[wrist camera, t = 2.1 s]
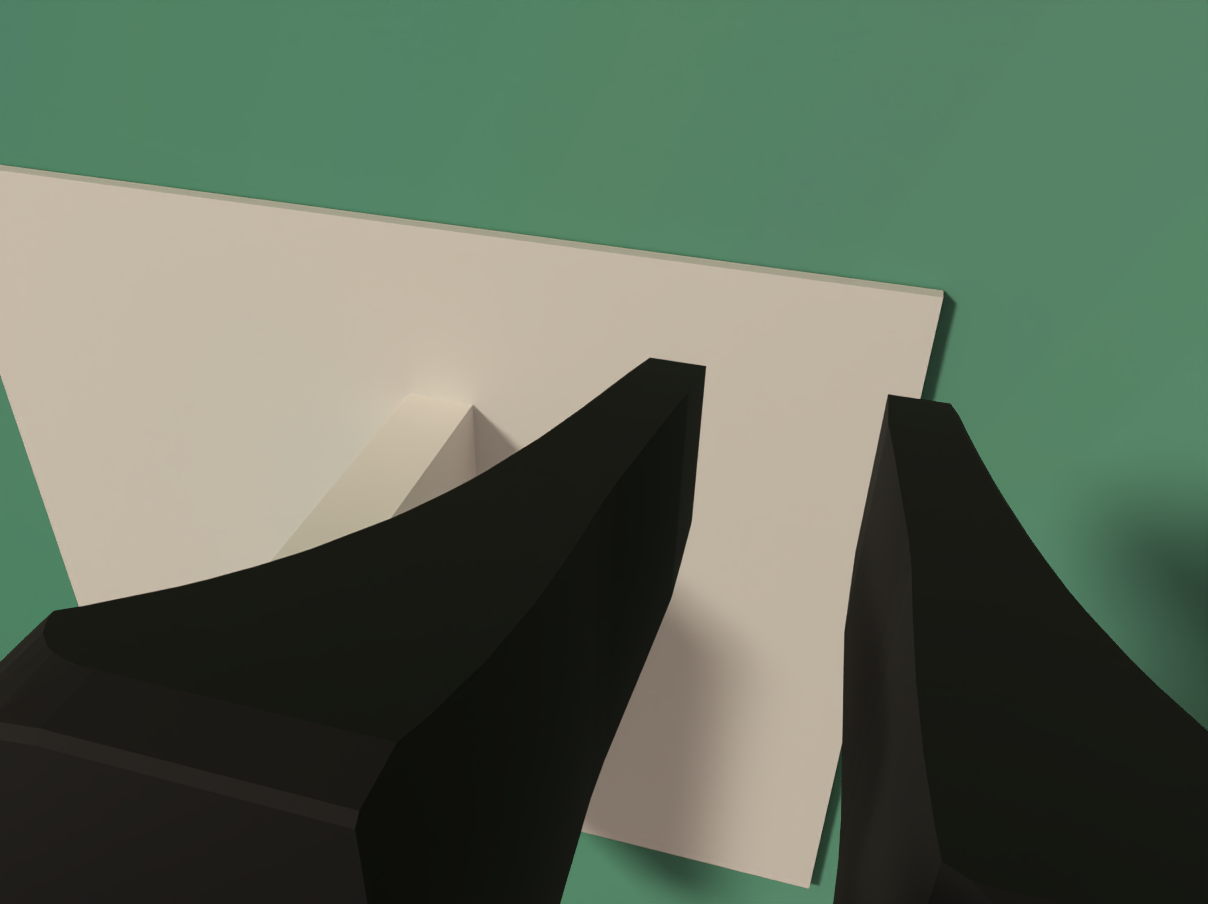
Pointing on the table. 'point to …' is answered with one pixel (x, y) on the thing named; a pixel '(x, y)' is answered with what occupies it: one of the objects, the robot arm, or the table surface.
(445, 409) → the tile
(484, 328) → the mat
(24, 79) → the table surface
